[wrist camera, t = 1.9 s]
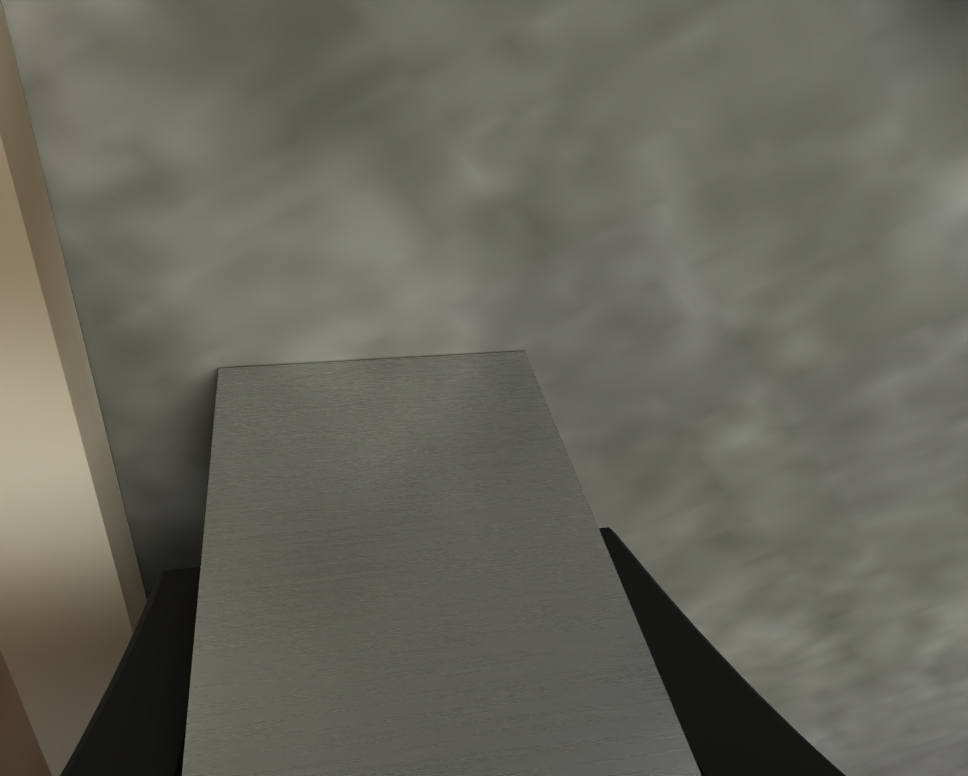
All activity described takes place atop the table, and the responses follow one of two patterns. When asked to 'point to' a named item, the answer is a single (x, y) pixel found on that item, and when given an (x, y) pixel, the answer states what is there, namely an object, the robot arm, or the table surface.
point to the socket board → (51, 481)
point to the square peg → (411, 585)
